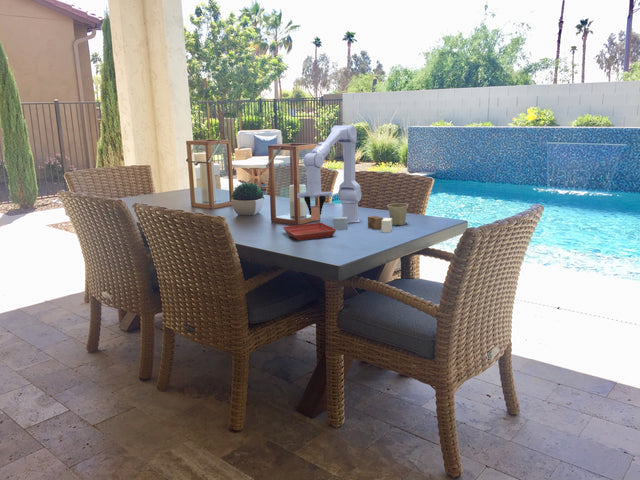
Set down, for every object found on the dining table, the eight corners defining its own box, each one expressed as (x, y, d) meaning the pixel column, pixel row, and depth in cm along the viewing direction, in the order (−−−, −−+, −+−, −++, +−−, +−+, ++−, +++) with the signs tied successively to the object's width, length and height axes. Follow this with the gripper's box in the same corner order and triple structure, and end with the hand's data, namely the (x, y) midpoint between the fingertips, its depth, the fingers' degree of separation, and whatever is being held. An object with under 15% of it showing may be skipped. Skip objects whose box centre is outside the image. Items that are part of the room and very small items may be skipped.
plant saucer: (282, 234, 226) (282, 226, 225) (321, 229, 232) (321, 222, 231) (295, 243, 210) (295, 234, 209) (337, 237, 215) (337, 229, 215)
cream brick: (384, 229, 226) (384, 217, 225) (392, 229, 225) (392, 218, 224) (381, 232, 221) (381, 220, 220) (389, 232, 220) (389, 220, 219)
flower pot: (384, 225, 233) (383, 206, 231) (391, 221, 241) (391, 202, 239) (404, 227, 229) (404, 207, 227) (411, 222, 237) (411, 203, 235)
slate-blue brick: (333, 229, 229) (333, 218, 228) (334, 228, 232) (333, 217, 231) (347, 229, 228) (346, 218, 227) (347, 228, 231) (347, 216, 230)
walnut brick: (367, 227, 230) (367, 216, 229) (374, 226, 232) (374, 215, 231) (376, 230, 225) (376, 218, 224) (382, 228, 227) (382, 217, 226)
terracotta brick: (311, 217, 225) (310, 206, 223) (319, 217, 225) (318, 205, 224) (311, 220, 219) (311, 208, 218) (320, 219, 219) (319, 208, 218)
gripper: (296, 184, 214) (298, 216, 218) (332, 182, 215) (333, 215, 218) (296, 182, 221) (298, 213, 224) (330, 180, 222) (331, 212, 225)
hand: (315, 214), depth 222 cm, fingers closed on terracotta brick, 3 cm apart
